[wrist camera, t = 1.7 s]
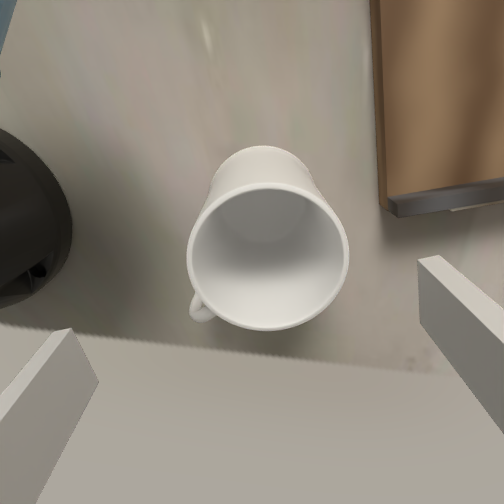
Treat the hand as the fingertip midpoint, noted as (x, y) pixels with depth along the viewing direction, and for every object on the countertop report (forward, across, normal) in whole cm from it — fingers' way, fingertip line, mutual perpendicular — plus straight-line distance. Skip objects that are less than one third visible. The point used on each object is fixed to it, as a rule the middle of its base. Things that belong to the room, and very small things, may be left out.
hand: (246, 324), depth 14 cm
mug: (+17, 0, -1) cm, 17 cm away
